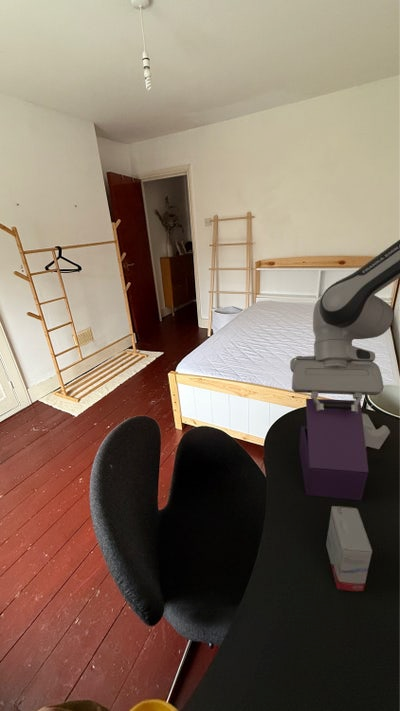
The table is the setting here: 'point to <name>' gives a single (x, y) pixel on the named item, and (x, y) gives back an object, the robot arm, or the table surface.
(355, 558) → the ink box
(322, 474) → the box
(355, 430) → the lid
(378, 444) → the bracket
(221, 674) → the table surface
